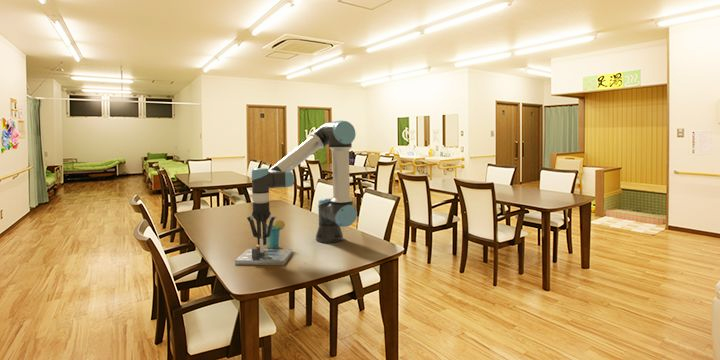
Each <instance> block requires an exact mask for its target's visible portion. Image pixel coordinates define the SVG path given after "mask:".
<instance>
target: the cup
mask: <svg viewBox="0 0 720 360" xmlns="http://www.w3.org/2000/svg"><path fill="white" fill-rule="evenodd" d="M285 226H286V223H285V222H284V220H281V219H279V220H276V221H275V223H274V225H273V226H272V230H271V235H270V236H269V237H267V238H266V239H267V249H278V248H279V245H280V231H281V230H283V229H285ZM268 227H269V225H268V224H267V223H266V229H267V231H268Z"/></svg>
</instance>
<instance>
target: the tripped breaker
mask: <svg viewBox="0 0 720 360" xmlns="http://www.w3.org/2000/svg"><path fill="white" fill-rule="evenodd" d="M254 248H258V254H261V252H260V245H258V244H256V245H255V247H254Z"/></svg>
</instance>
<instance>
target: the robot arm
mask: <svg viewBox="0 0 720 360" xmlns="http://www.w3.org/2000/svg"><path fill="white" fill-rule="evenodd" d="M356 133H357V132H356V129H355V127H354V125H353V124H352V123H351V122H349V121H346V120H333V121H332V120H331V121H328V122H325V123H323V124H322V125H321V126H320V127H318V128H317V129H316V130H314V131H312V133H311V134H310V137H309V138H307V139H306V140H305V141H303V142H302V143H301V144H300V145H298V146H297V147H295V148H294V149H293V150H292V151H291V152H289V153H288V154H287V155H285V156H284V157H283V158H282V159H280V160H279V161H278V162H277V163H275V164H274V165H272V166H271V167H270V168H266V167H260V168H259V167H256V168H252V170H251V178H250V179H251V186H252V188H251V191H252V192H251V193H252V195H251V196H252V197H251V198H252V199H251V200H252V212H251V215H249V216H247V221H248V222H249V225H250V230H251V232H252V233H251V234H252V235H253V236H252V237H253V238H257V245H260V252H262V253H263V252H264V251H265V249H266V248H265V247H266V245H268V243H267V237H269V236H270V235H271V230H272V226H274V222H275V219H276V216H275V215H272V213H271V210H270V202H269V201H270V189H276V188H289V187H293V186H294V182H295V176H294V174H293V172H292V171H293V170H294V169H296V168H297V167H298V166H299V165H301V164H302V163H303V162H304V161H305V160H307V159H308V158H309V157H311V156H312V155H313V154H315V152H317V151H318V150H319V149H323V148H325V147H326V146H328V148H329V149H330V150H331V157H332V158H331V159H332V162H331V163H332V190H333V191H332V194H333V197H331V198H321V199H319V200H318V228H317V231H316V234H315V241H316V242H318V243H324V244H329V243H330V244H331V243H333V244H334V243H338V242H342V241H344V234H343V231H342V228H341V227H350V226H352V225H353V224H354V222H356V220H357V216H358V211H357V208H356V207H355V206H354V201H353V198H352V197H351V193H350V192H351V191H350V190H351V189H350V188H351V187H350V152H349V151H350V150H351V149H352V148H353V147H352V143H353V142H354V140H355V138H356ZM268 219H269V223H268V226H269V227H268V231H267V229H266V224H267V221H268ZM254 220H255V221H254ZM255 223H256V225H255Z"/></svg>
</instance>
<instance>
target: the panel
mask: <svg viewBox="0 0 720 360" xmlns="http://www.w3.org/2000/svg"><path fill="white" fill-rule="evenodd" d="M292 255H293V249H288V248H287V249H285V248H284V249H283V248H282V249H281V248H279V249H278V248H275V249H270V248H265V251H264V252H263V253H262V252H261V254H258V248H255V247H253V248H247V249H246V250H245V251H244V252H243V253H241V254H240V255H239V256H238V257H237V258H235V260H234V265H239V266H241V265H242V266H243V265H245V266H250V265H251V266H255V265H256V266H285V264H287V262H288V260H289V259H290V257H291V256H292Z"/></svg>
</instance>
